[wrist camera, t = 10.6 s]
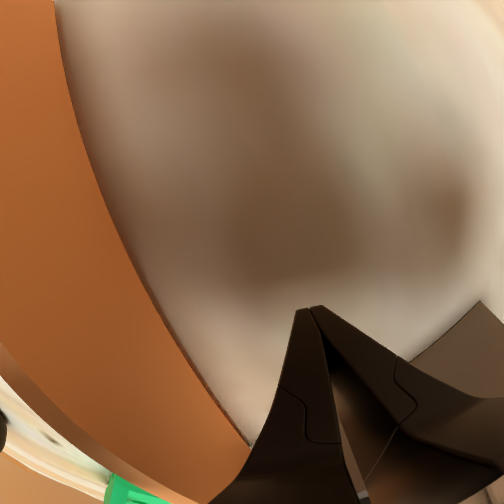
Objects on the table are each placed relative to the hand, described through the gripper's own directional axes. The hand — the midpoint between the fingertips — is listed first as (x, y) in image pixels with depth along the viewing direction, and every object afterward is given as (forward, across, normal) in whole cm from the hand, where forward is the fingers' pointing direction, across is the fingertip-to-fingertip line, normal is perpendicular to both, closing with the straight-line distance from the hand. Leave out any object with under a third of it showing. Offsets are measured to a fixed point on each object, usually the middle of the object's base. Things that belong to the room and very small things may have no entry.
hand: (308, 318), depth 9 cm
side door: (+2, +6, 0) cm, 6 cm away
